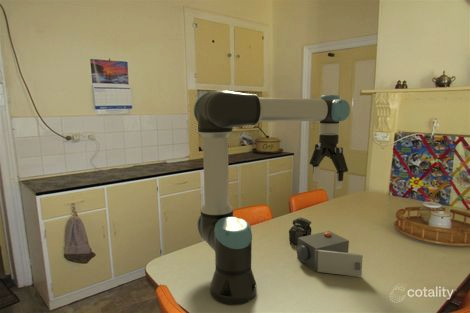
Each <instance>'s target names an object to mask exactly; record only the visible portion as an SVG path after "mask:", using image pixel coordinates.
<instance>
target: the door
mask: <svg viewBox="0 0 470 313" xmlns="http://www.w3.org/2000/svg"><path fill="white" fill-rule="evenodd" d="M313 270H314V272H318V273H324V274H335V275H341V276H342V275H343V276H348V277H349V276H351V277H359V278H362V272H363V254H362V253H352V252H348V253H344V252H335V251H325V250H315V267H314V269H313Z"/></svg>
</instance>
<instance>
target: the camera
mask: <svg viewBox="0 0 470 313" xmlns="http://www.w3.org/2000/svg"><path fill="white" fill-rule="evenodd" d="M311 224H312V221H310V220H308V219H306V218H303V217H300V216H298V217H297V218H295V219H294V220H292V226H291V227H290V228H289V230H288V240H289V243H290V244H292V245H295V246H298V238H299V237H304V236H308V235H312V227H311V226H310V225H311Z"/></svg>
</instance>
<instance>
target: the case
mask: <svg viewBox="0 0 470 313" xmlns="http://www.w3.org/2000/svg"><path fill="white" fill-rule="evenodd" d="M349 244H350V241H349V240H348V239H346V238H344V237H343V236H340V235H339V234H336V233H334V232H333V231H330V230H327V231H323V232H319V233H313V234H311V235H308V236H304V237H299V238H298V245H297V247H296V254H297V255H296V256H297V257H296V258H297V259H298V260H300V261H301V262H302V263H304V264H306V265H307V266H308V267H310V268H311V269H313V270H314V267H315V250H325V251H335V252H344V253H349Z"/></svg>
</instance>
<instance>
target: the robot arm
mask: <svg viewBox="0 0 470 313" xmlns="http://www.w3.org/2000/svg"><path fill="white" fill-rule="evenodd" d="M350 114H351V106H350V103H349V102H348V101H347V100H346V99H342V98H340V96H339V95H338V94H325V95H321V96H320V98H293V97H292V98H289V97H259V96H258V95H257V94H255V93H243V92H237V91H232V90H231V91H230V90H220V91H219V90H218V91H209V92H206V93H204V94H202V95H200V96H199V97H198V98H197V99H196V100H195V103H194V105H193V116H194V117H195V119H196V121H197V127H198V128H197V131H198V132H197V133H198V134H199V136H201V137H202V145H203V146H202V151H203V153H202V154H203V158H202V159H203V187H204V188H203V189H204V190H203V191H204V205H203V206H202V207H200V215H199V217H198V219H197V221H196V222H197V224H196V225H197V231H198V234H199V236H200V237H201V238H202V239H203V241H205V242H206V243H207V245H209V247H210V248H211V249H212V250H213V251H214V253H215V254H214V255H215V256H214V257H215V259H214V261H215V268H214V269H215V270H214V272H213V276H212V280H211V282H210V289H209V290H210V292H209V293H210V296H211V297H212V298H213V300H215V301H217V302H218V303H221V304H223V305H230V306H231V305H232V306H234V305H242V304H245V303H249V302H251V301H252V300H253V299H254V298H255V297H256V295H257V290H258V289H257V287H258V286H257V282H256V279H255V276H254V273H253V270H252V250H253V249H252V246H253V245H252V240H253V234H252V227H251V225H250V223H249V222H248V221H247V220H245V219H243V218H241V217H240V218H238V217H237V216H234V207H233V206H232V205H231V204H230V199H229V197H230V193H229V192H230V190H229V184H230V183H229V137H230V135H231V134H232V133H233V128H236V127H244V126H256V125H258V123H265V122H267V123H270V122H273V123H274V122H280V123H281V122H319V133H320V134H319V135H318V136H319V137H318V138H319V139H318V143H317V144H315V145H314V149H313V152H312V154H311V155H312V156H311V157H310V158H311V159H310V160H309V164H310V165H312V178H313V179H312V182H313V183H317V182H320V168H321V167H320V164H321V162H322V161H323V160H324V158H325V157H326V158H329V159H331V162H332V164H333V166H334V168H335V169H336V172H335V184H334V185H335V187H334V188H335V190H341V189H343V181H344V173H347V172H349V169H348V165H347V162H346V158H345V155H344V147H342V146H341V147H338V146H337V144H339V132H340V122H343V121H346V120H347V119H348V117H349V116H350Z"/></svg>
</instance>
